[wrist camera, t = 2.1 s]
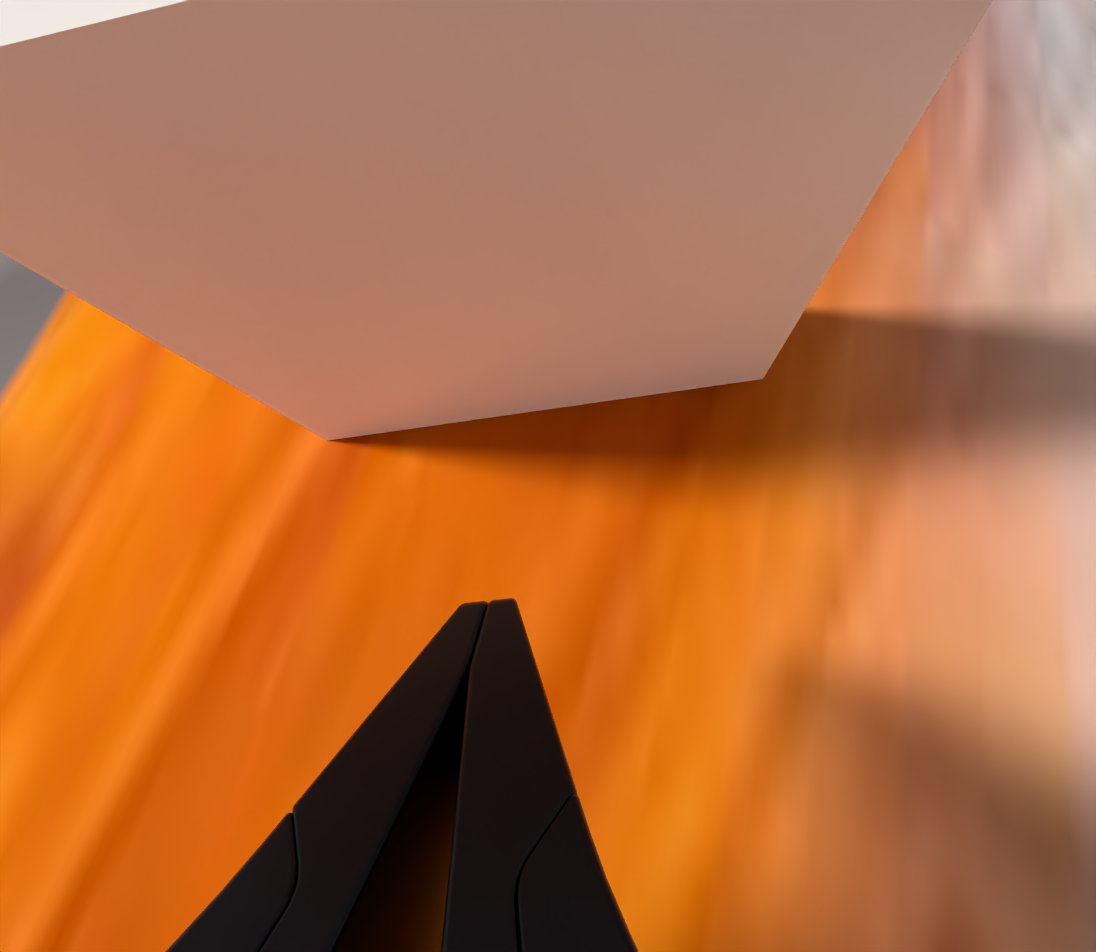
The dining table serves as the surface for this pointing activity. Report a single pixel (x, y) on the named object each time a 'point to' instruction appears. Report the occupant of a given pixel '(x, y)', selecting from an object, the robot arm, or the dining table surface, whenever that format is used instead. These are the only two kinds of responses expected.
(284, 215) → the tile
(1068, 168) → the dining table surface
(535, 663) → the robot arm
